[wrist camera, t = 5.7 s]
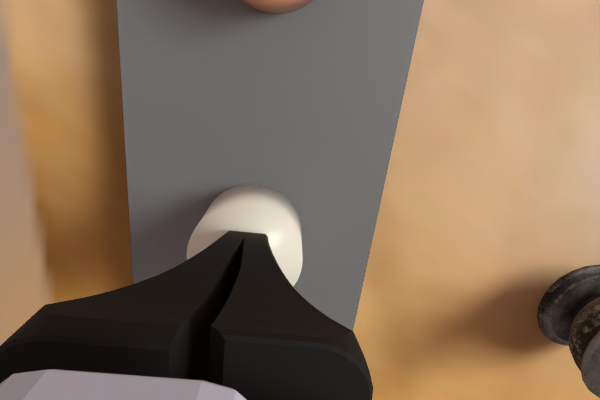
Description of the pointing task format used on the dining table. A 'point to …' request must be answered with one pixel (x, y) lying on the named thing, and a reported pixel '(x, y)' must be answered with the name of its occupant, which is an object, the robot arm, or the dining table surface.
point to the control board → (264, 124)
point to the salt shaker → (576, 320)
